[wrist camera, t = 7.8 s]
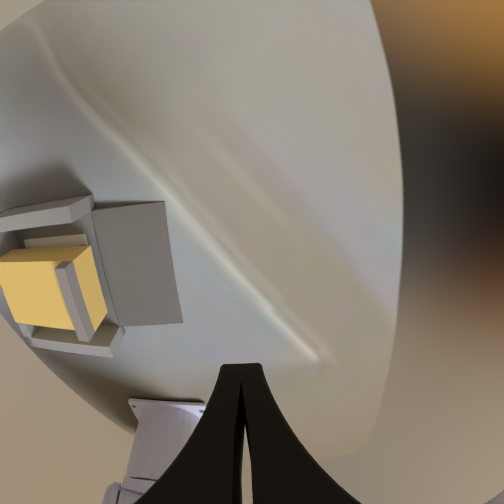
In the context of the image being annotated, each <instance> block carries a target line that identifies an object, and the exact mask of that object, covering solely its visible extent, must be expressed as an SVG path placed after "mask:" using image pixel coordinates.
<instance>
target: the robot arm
mask: <svg viewBox="0 0 504 504" xmlns="http://www.w3.org/2000/svg"><path fill="white" fill-rule="evenodd" d="M128 403H129V405H130V407H131V409H132V411H133V413H134V414H135V416H136V418H137V420H138V422H139V423H138V426H137V430H136V434H135V438H134V442H133V446H132V450H131V454H130V458H129V463H128V467H127V471H126V476H125V477H124V478H123V483H122V487H120V486H121V484H120V483H117V482H114V483H113V484H110V485H108V486H107V489H106V491H105V495H104V499H103V503H102V504H242V485H241V477H242V459H243V444H244V429H245V427H246V433H247V440H248V447H249V453H250V460H251V472H252V493H253V504H361V503H360V502H359V501H357V500H356V499H355V498H354V497H352V496H351V495H350V494H349V493H347V492H346V491H345V490H344V489H343V488H342V487H340V486H339V485H338V484H337V483H336V482H335V481H334V480H333V479H332V478H331V477H330V476H329V475H328V474H327V473H326V472H325V471H324V470H323V469H322V468H321V467H320V466H319V464H317V462H316V461H315V460H314V459H313V457H312V456H311V455H310V454H309V453H308V451H307V450H306V449H305V448H304V446H303V445H302V444H301V442H300V441H299V440H298V438H297V437H296V435H295V434H294V432H293V431H292V429H291V428H290V426H289V425H288V423H287V421H286V420H285V418H284V416H283V415H282V413H281V411H280V409H279V407H278V405H277V404H276V402H275V400H274V398H273V396H272V393H271V391H270V389H269V387H268V384H267V381H266V379H265V376H264V373H263V369H262V365H261V364H259V363H247V364H223V365H222V366H221V368H220V372H219V376H218V379H217V382H216V385H215V387H214V390H213V392H212V395H211V397H210V399H209V402H208V404H207V406H206V404H204V403H194V402H171V401H156V400H145V399H135V398H130V399H129V400H128ZM484 504H504V490H503V491H502V492H500V493H499V494H498V495H496V496H495V497H494V498H492V499H491V500H489V501H488V502H486V503H484Z"/></svg>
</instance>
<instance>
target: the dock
mask: <svg viewBox="0 0 504 504" xmlns="http://www.w3.org/2000/svg"><path fill="white" fill-rule="evenodd" d="M79 245H91V249H92V253H93V258H94V262H95V266H96V271H97V275H98V279H99V282H100V286H101V290H102V294H103V297H104V301H105V304H106V307H107V311H108V312H107V314H106V315H105V317H104V319H103V320H102V322H101V323H100V325H99V327H98V328H97V330H96V332H95V333H94V335H93V337H92V338H91V340H90V342H86V341H79V339H78V336H77V334H76V332H75V330H68V329H59V328H52V327H44V326H37V325H30V324H24V323H18V322H17V323H18V325H19V327H20V329H21V331H22V333H23V335H24V337H25V339H26V341H27V343H28V345H29V346H33V347H38V348H44V349H50V350H56V351H62V352H69V353H77V354H85V355H93V356H103V357H114V355H115V352H116V350H117V348H118V346H119V344H120V342H121V340H122V338H123V336H124V334H125V329H124V326H140V325H158V324H173V323H183V320H182V315H181V310H180V304H179V299H178V293H177V287H176V281H175V275H174V269H173V263H172V256H171V249H170V242H169V235H168V227H167V219H166V210H165V202H153V203H142V204H132V205H122V206H113V207H104V208H96V209H95V206H94V199H93V194H90V195H83V196H77V197H71V198H65V199H59V200H53V201H47V202H42V203H37V204H32V205H27V206H22V207H17V208H12V209H8V210H6V211H4V212H2V213H0V257H2V256H3V255H5V254H6V253H8V252H9V251H10V250H12V249H25V248H46V247H65V246H79Z"/></svg>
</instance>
